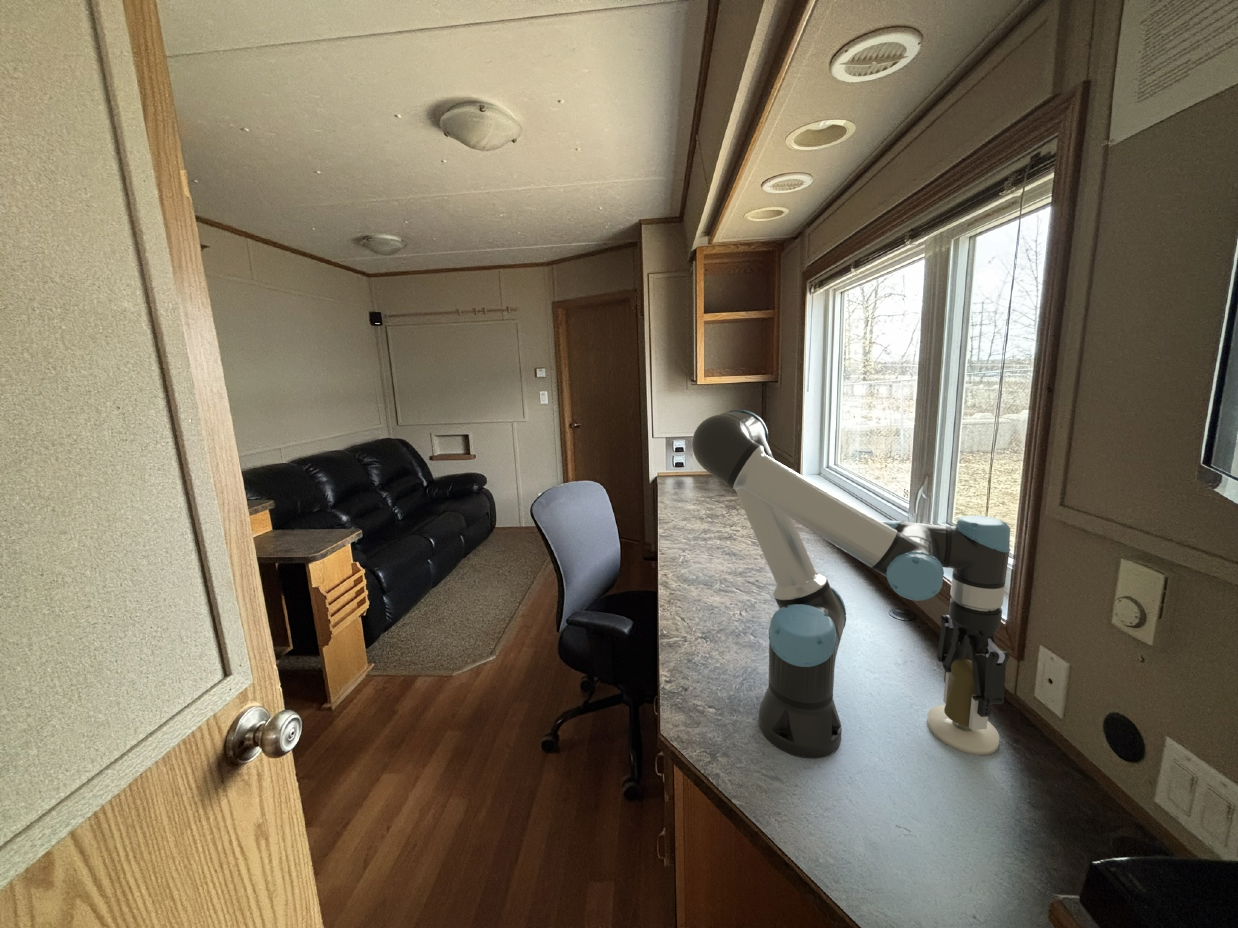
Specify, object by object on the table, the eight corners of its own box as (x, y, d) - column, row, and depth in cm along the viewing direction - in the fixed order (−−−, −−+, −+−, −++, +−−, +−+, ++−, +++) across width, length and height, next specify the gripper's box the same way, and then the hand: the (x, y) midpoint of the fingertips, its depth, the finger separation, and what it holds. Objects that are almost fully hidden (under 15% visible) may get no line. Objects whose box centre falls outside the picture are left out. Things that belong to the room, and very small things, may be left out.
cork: (945, 700, 93) (950, 650, 91) (984, 713, 89) (990, 661, 87) (942, 718, 88) (947, 666, 86) (982, 732, 85) (989, 678, 82)
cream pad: (953, 756, 84) (954, 749, 84) (914, 712, 95) (915, 706, 94) (1014, 753, 84) (1015, 746, 84) (968, 710, 95) (969, 703, 95)
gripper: (1044, 628, 75) (1027, 753, 79) (958, 578, 94) (948, 681, 98) (997, 631, 75) (983, 755, 79) (920, 579, 94) (912, 683, 98)
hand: (964, 714), depth 89 cm, fingers closed on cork, 6 cm apart
